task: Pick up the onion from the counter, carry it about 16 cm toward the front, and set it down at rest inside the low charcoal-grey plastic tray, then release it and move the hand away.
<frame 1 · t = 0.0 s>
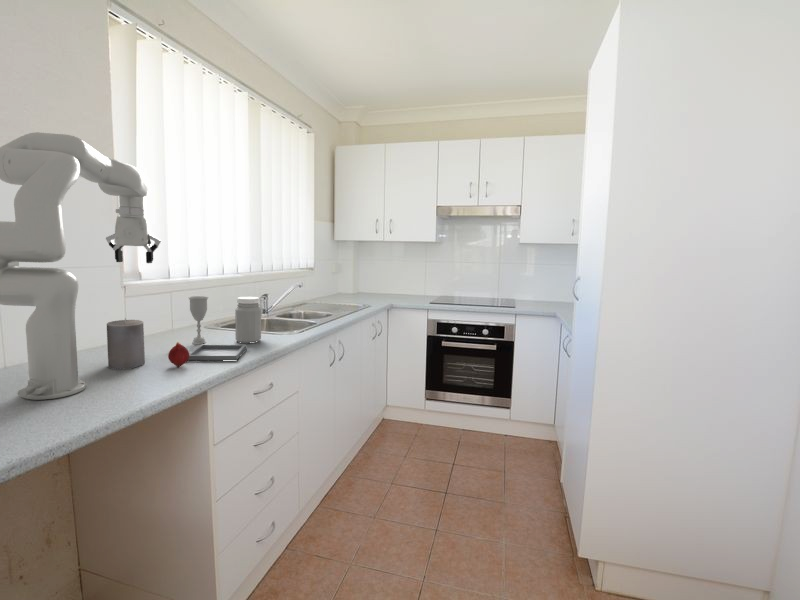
hand: (134, 262, 145), 31 cm above the countertop, tool pointing down, fingers open, 9 cm apart
jar: (248, 341, 168), on the countertop
tray: (218, 355, 145), on the countertop
onion: (179, 367, 130), on the countertop
pillar candle: (127, 365, 130), on the countertop
chalice: (199, 343, 162), on the countertop
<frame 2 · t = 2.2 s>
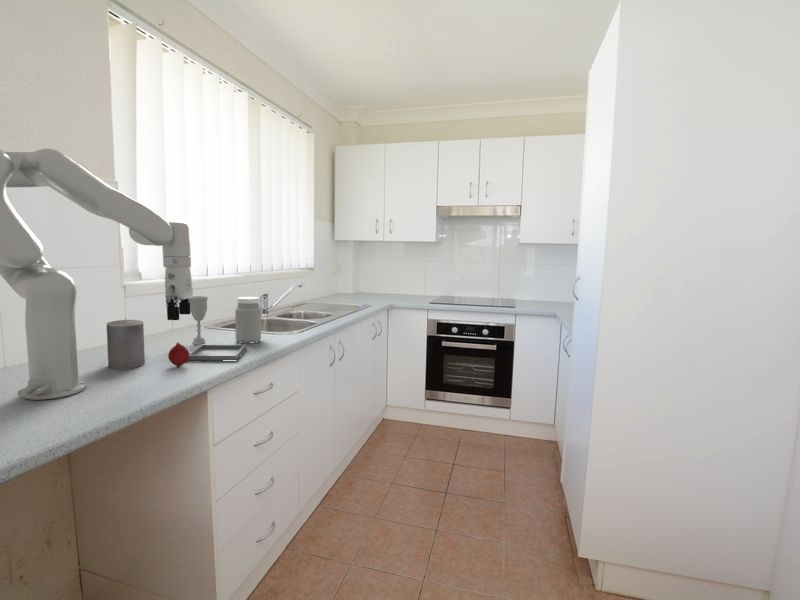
hand: (179, 317, 129), 16 cm above the countertop, tool pointing down, fingers open, 9 cm apart
nothing on the countertop moved.
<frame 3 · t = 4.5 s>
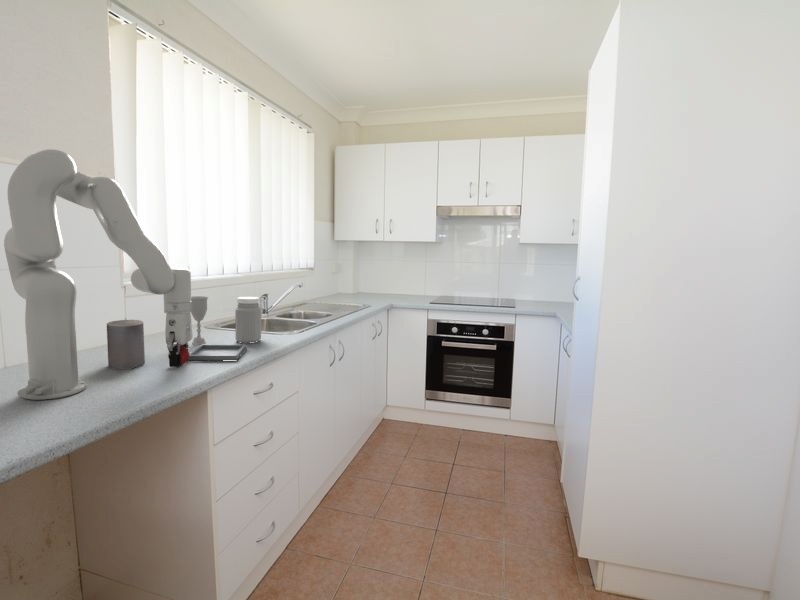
hand: (179, 363, 130), 1 cm above the countertop, tool pointing down, fingers closed on onion, 5 cm apart
onion: (179, 367, 130), on the countertop, touching gripper
everything else where it was.
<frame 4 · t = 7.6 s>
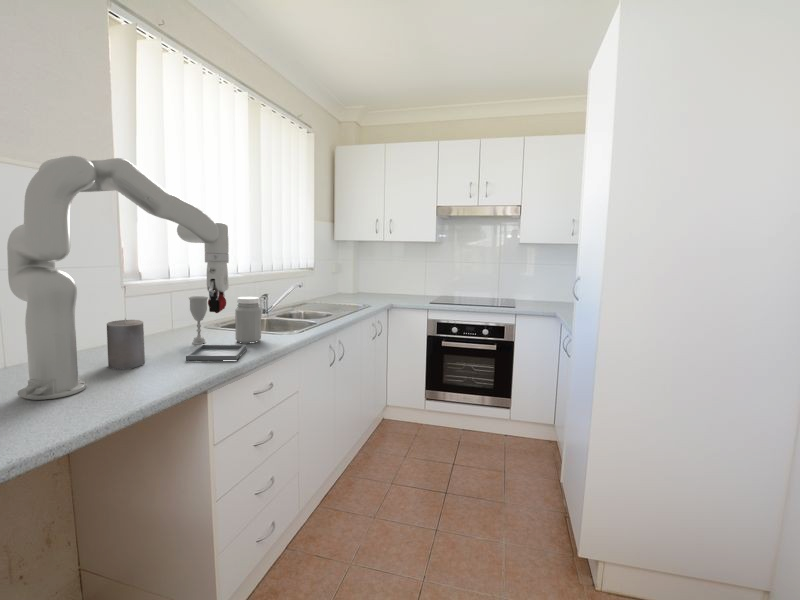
hand: (217, 309, 143), 16 cm above the countertop, tool pointing down, fingers closed on onion, 5 cm apart
onion: (217, 313, 143), point 15 cm above the countertop, touching gripper
everything else where it was.
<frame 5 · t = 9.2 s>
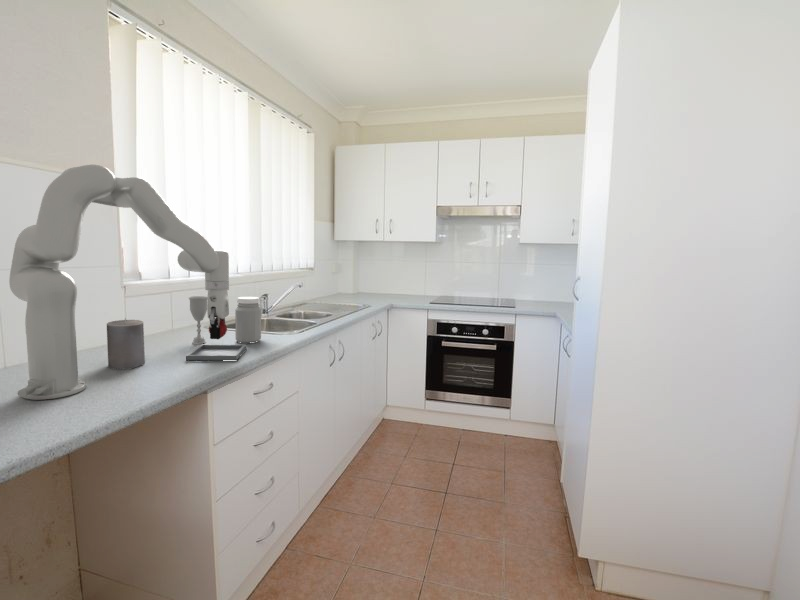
hand: (217, 336, 145), 7 cm above the countertop, tool pointing down, fingers closed on onion, 5 cm apart
onion: (218, 339, 145), point 6 cm above the countertop, touching gripper
everything else where it was.
when the fingers open (3 cm above the countertop, at t = 10.8 s): onion drops 1 cm, resting on tray.
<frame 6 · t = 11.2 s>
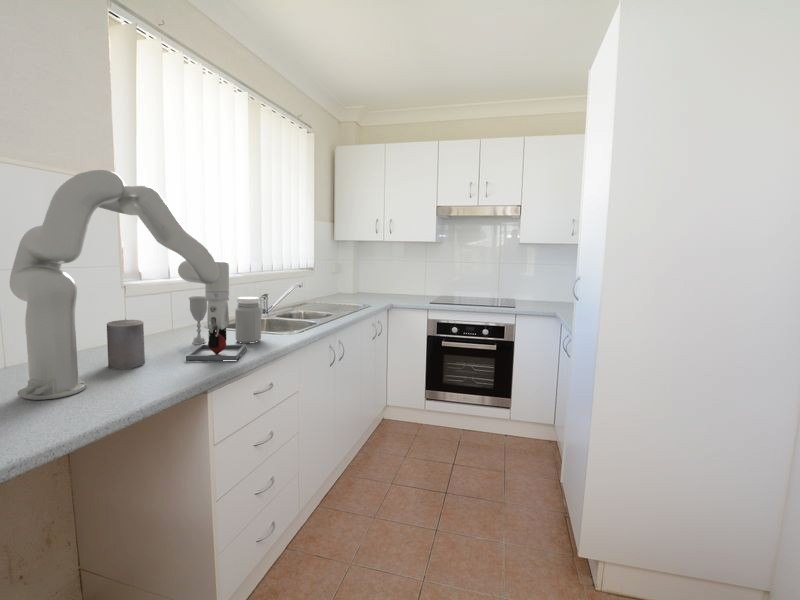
hand: (217, 344, 145), 4 cm above the countertop, tool pointing down, fingers open, 9 cm apart
onion: (217, 354, 145), resting on tray
everything else where it was.
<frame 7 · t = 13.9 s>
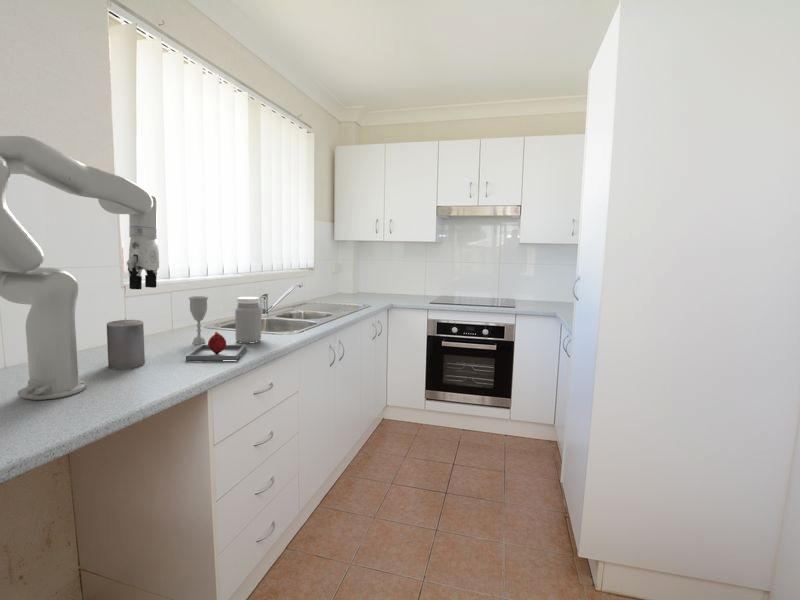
hand: (143, 288, 130), 24 cm above the countertop, tool pointing down, fingers open, 9 cm apart
nothing on the countertop moved.
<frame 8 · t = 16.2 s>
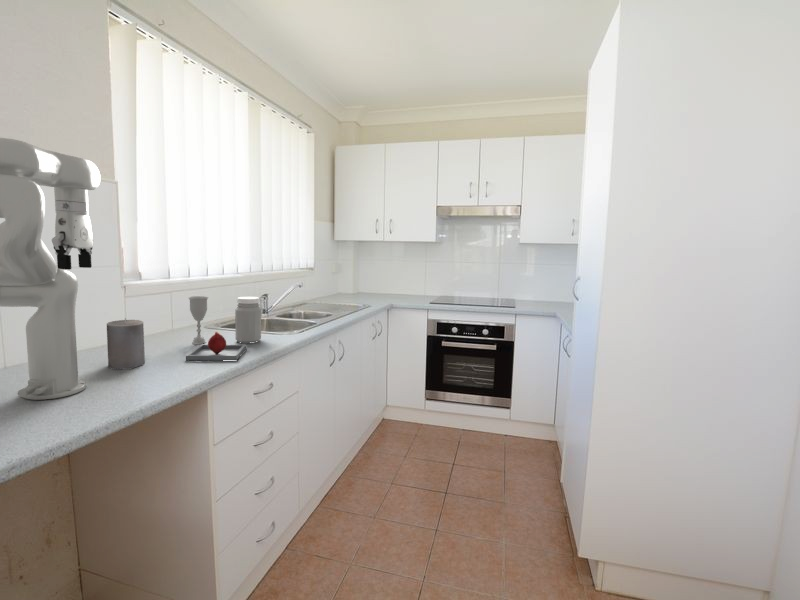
hand: (75, 268, 120), 30 cm above the countertop, tool pointing down, fingers open, 9 cm apart
nothing on the countertop moved.
at the end: onion inside the target area on the tray (0.4 cm from its centre), point 0.4 cm above the tray's base; onion touching tray; the gripper is holding nothing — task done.
